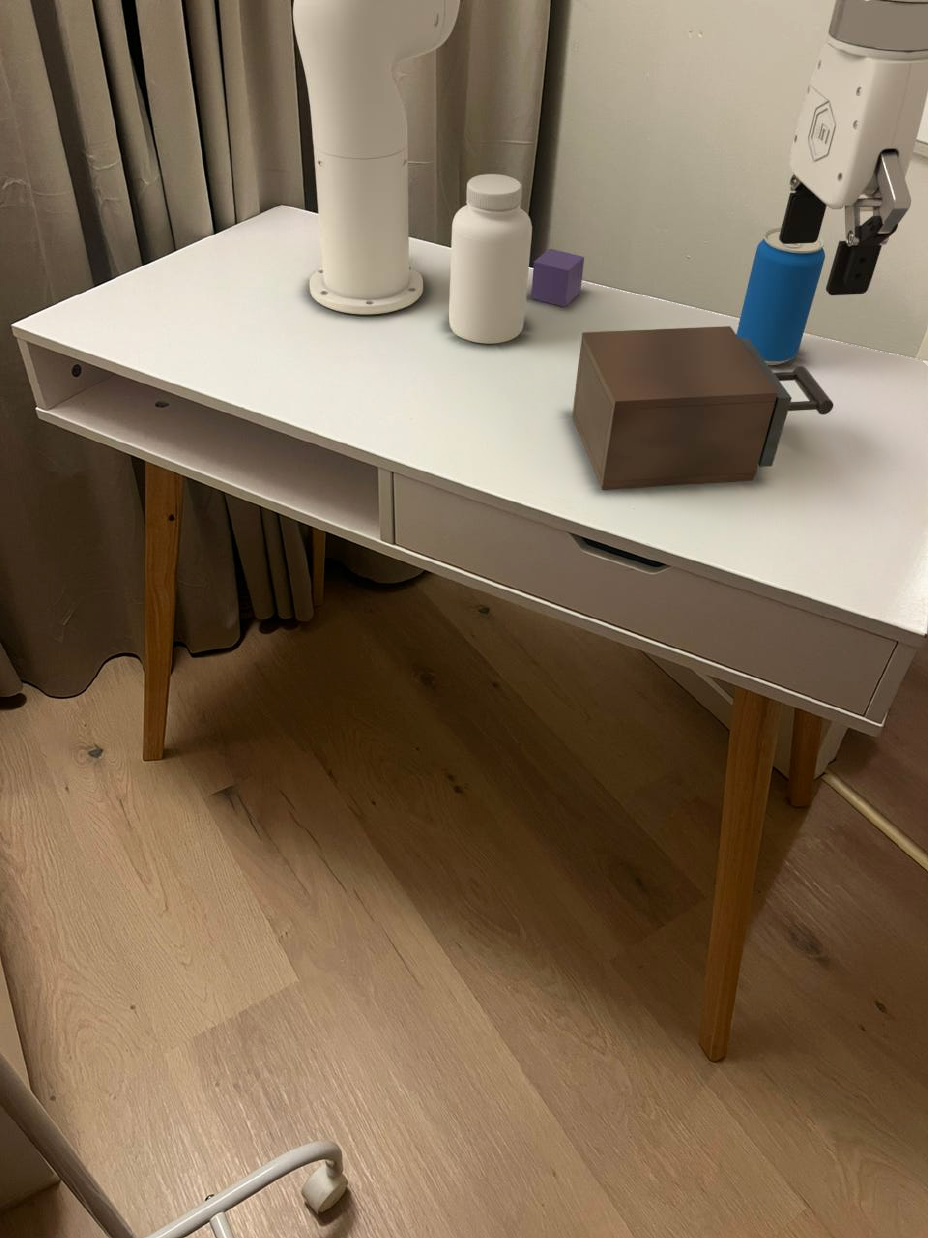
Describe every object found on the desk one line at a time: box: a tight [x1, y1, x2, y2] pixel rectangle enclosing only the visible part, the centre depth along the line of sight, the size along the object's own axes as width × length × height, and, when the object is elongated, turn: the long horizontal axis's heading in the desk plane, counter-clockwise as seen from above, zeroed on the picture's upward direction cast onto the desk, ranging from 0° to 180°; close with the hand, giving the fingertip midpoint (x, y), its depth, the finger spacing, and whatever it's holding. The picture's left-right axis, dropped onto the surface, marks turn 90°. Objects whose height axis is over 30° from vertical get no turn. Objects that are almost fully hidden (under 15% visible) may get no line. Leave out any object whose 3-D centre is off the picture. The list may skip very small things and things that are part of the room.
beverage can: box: [735, 226, 826, 366], centre depth 99 cm, size 6×6×12 cm
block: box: [530, 248, 585, 308], centre depth 110 cm, size 4×4×4 cm
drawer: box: [739, 338, 834, 468], centre depth 87 cm, size 18×10×7 cm, turn 98°
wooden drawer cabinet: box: [571, 325, 778, 490], centre depth 87 cm, size 14×12×9 cm
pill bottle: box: [448, 173, 533, 344], centre depth 100 cm, size 8×8×15 cm
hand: (820, 266), depth 80 cm, fingers open, 9 cm apart
